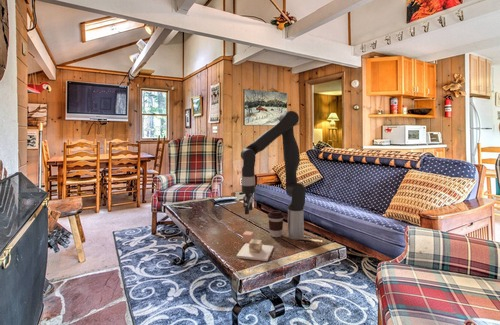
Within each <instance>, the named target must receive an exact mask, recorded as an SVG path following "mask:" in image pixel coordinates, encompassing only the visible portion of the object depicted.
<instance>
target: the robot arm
mask: <svg viewBox="0 0 500 325" xmlns="http://www.w3.org/2000/svg"><path fill="white" fill-rule="evenodd" d="M278 119H279V120H278V123H277V124H275V125H274V126H272V127H271V128H270V129H268V130H266V131H265V132H263V133H262V134H261V135H260V136H259V137H257V138H256V139H255V140H254V141H253V142H252V143H250V144H249V145H247V146H246V147H244V148H243V149H242V151H241V152H240V157H241V159H242V160H243V161H242V163H243V164H242V167H241V168H242V169H241V193H243V194H244V196H243V197H242V199H243V205H242V206H243V208H244V215H249V214H250V211H253V203H254V193H256V179H255V165H256V155H257V154H259V153H260V152H262V151H264V150H265V149H266V148H267V147H269V145H271V144H272V143H273V142H274V141H276V140H277V139H278V137H280V136H282V137H281V138H282V139H281V140H282V152H283V153H282V154H283V161H284V162H283V163H284V172H285V192H286V194H287V196H289V197H291V202H290V203H288V204H287V238H288V239H291V240H304V236H305V234H304V231H305V226H304V225H305V224H304V223H305V220H304V209H305V208H304V207H305V206H306V205H305V203H306V192H307V191H306V187H305V185H303V184H302V183H299V182H298V180H297V179H298V177H297V171H298V168H299V165H300V162H301V159H300V156H301V155H300V149H299V146H298V145H299V144H298V142H297V140H296V137H295V132H294V127H295V126H296V125H298V123H299V119H300V117H299V114H298V112H296V111H294V110H287V111H283V112H281V113H280V115H279V118H278Z"/></svg>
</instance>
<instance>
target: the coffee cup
mask: <svg viewBox="0 0 500 325" xmlns="http://www.w3.org/2000/svg"><path fill="white" fill-rule="evenodd" d="M267 217H268V228H269V236H270V237H273V238H280V237H282V236H283V235H282V234H283V228H284V218H285V214H284V213H283V212H282V210H278V209H275V210H270V211H269V212H268V213H267Z"/></svg>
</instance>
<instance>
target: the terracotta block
mask: <svg viewBox="0 0 500 325" xmlns="http://www.w3.org/2000/svg"><path fill="white" fill-rule="evenodd" d="M251 239H255V238H254V231H247V230H246V231H244V232H243V234H242V243H244V244H245V243H249V242H250V241H251Z"/></svg>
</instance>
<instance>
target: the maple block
mask: <svg viewBox="0 0 500 325" xmlns="http://www.w3.org/2000/svg"><path fill="white" fill-rule="evenodd" d="M262 245H263V240H262V239H257V238H256V239H255V238H254V239H251V241H250V242H249V252H252V253H260V251H261V250H262Z"/></svg>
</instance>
